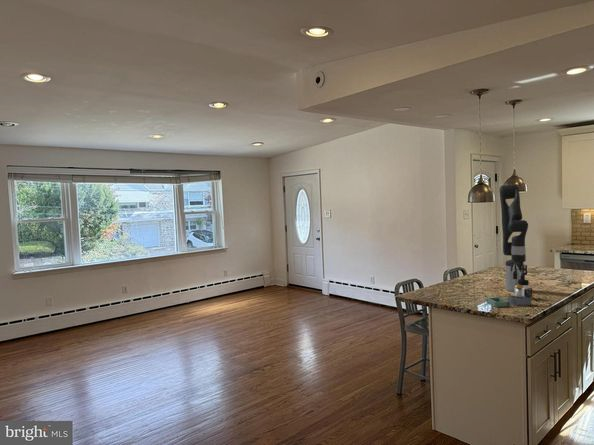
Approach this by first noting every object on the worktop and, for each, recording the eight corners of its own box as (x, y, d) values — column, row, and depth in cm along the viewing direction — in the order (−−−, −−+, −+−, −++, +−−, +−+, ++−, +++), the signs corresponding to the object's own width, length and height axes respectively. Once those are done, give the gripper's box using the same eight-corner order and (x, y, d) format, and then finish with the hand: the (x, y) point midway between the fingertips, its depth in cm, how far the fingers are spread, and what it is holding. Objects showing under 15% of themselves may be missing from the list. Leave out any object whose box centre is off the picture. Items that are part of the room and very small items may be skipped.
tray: (486, 302, 254) (486, 297, 254) (499, 302, 254) (499, 297, 254) (495, 307, 242) (495, 302, 242) (509, 307, 242) (509, 302, 242)
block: (508, 302, 253) (508, 295, 253) (522, 301, 253) (522, 295, 252) (515, 306, 244) (515, 299, 244) (531, 305, 244) (531, 298, 243)
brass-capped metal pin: (513, 303, 250) (513, 284, 250) (521, 302, 250) (520, 284, 250) (517, 305, 246) (517, 286, 246) (525, 304, 246) (524, 286, 245)
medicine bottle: (524, 299, 257) (524, 280, 257) (514, 297, 264) (514, 279, 263) (532, 298, 260) (532, 279, 260) (522, 296, 267) (522, 277, 266)
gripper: (506, 252, 254) (506, 278, 255) (518, 255, 240) (518, 282, 240) (518, 252, 254) (518, 278, 255) (531, 254, 240) (531, 282, 240)
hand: (518, 280), depth 247 cm, fingers open, 8 cm apart
